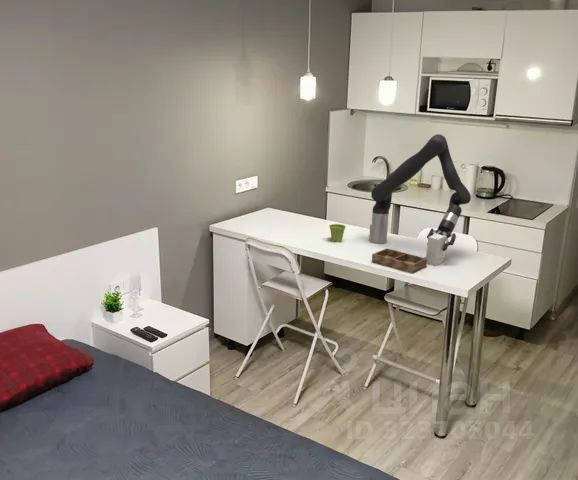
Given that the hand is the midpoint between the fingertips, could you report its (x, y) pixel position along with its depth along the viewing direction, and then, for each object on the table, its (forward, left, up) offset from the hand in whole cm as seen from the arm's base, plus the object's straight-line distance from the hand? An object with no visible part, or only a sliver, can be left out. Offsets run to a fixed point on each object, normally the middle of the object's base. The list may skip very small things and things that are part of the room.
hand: (435, 248), depth 315 cm
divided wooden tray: (-12, -15, -8) cm, 21 cm away
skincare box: (0, 0, -8) cm, 8 cm away
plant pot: (-60, -4, -8) cm, 61 cm away
